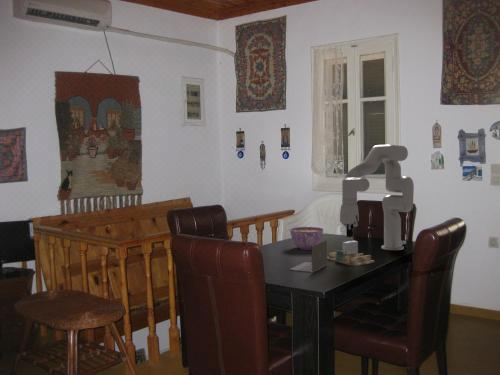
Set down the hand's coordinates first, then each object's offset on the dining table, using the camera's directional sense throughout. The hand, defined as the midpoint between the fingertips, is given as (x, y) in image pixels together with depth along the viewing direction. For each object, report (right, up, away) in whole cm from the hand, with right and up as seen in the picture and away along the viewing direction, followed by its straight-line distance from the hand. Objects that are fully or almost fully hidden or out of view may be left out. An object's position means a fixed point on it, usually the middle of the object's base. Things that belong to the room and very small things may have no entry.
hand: (349, 236), depth 267 cm
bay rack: (0, -13, +1) cm, 13 cm away
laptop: (-23, -15, -13) cm, 30 cm away
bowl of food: (-18, -11, +36) cm, 42 cm away
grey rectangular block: (0, -12, +1) cm, 12 cm away
